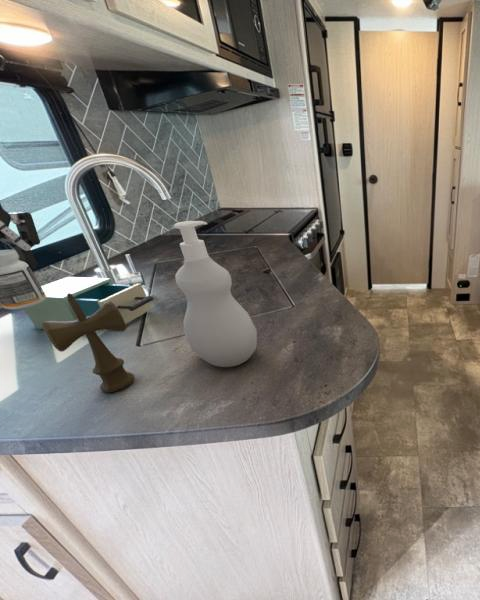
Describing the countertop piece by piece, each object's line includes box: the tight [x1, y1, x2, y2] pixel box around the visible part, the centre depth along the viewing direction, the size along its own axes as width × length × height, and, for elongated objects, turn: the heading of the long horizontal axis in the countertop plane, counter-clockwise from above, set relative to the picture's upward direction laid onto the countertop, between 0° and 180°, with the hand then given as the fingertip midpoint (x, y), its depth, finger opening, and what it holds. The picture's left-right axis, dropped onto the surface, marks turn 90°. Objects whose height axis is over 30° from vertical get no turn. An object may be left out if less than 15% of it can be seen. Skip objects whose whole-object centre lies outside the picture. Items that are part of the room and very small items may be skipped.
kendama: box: [42, 293, 135, 393], centre depth 57 cm, size 6×10×20 cm, turn 143°
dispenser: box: [22, 276, 114, 330], centre depth 83 cm, size 14×12×10 cm
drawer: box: [67, 282, 154, 325], centre depth 82 cm, size 17×11×8 cm, turn 82°
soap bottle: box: [173, 220, 258, 368], centre depth 62 cm, size 17×12×29 cm
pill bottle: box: [0, 249, 46, 310], centre depth 57 cm, size 6×6×10 cm
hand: (10, 276), depth 57 cm, fingers closed on pill bottle, 5 cm apart
